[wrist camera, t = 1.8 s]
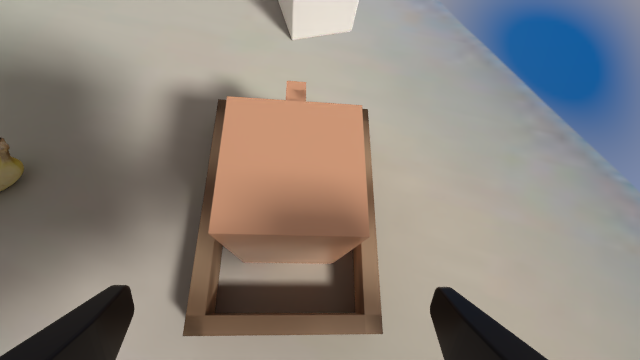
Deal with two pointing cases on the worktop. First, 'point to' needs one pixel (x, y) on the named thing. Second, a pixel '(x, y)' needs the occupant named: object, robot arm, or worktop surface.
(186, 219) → the worktop surface
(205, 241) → the frame
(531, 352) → the robot arm
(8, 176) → the banana
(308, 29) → the milk
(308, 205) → the peach box with tab
